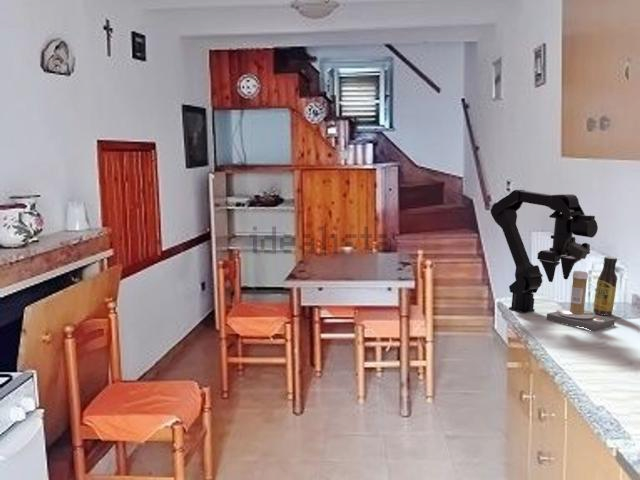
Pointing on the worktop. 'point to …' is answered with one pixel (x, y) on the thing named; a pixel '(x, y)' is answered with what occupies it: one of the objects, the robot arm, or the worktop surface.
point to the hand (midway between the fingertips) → (558, 280)
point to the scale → (583, 321)
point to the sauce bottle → (606, 288)
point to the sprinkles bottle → (578, 292)
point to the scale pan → (566, 313)
